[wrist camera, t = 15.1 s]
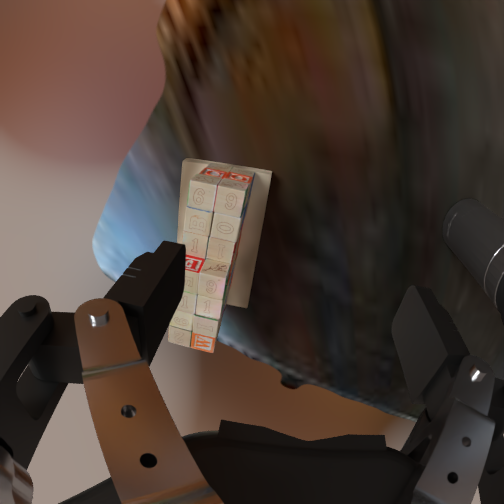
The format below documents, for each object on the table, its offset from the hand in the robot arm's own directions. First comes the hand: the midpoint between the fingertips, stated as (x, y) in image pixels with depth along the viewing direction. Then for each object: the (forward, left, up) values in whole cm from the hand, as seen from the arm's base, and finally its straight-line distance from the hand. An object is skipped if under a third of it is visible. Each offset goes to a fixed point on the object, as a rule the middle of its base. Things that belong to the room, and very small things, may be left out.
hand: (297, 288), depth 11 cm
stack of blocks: (+7, +15, -32) cm, 36 cm away
